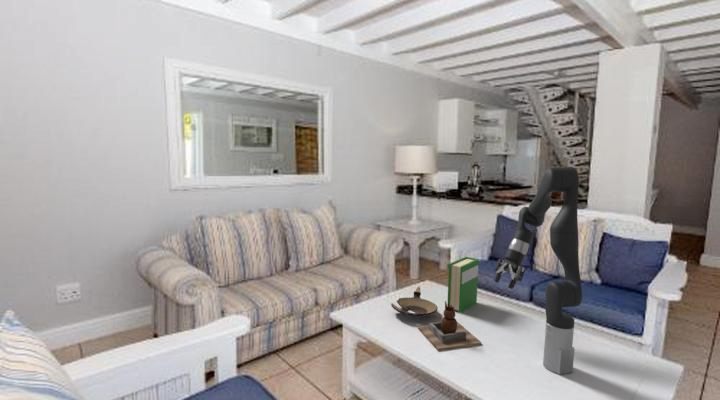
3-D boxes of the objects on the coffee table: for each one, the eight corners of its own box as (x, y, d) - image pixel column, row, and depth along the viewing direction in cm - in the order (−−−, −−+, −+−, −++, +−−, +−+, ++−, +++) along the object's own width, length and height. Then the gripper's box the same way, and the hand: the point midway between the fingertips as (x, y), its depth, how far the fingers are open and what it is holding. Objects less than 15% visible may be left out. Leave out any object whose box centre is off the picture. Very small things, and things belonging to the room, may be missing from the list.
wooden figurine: (439, 334, 167) (440, 301, 165) (442, 329, 172) (444, 297, 170) (454, 338, 164) (456, 305, 162) (458, 332, 169) (459, 300, 167)
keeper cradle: (481, 344, 161) (481, 335, 161) (437, 350, 156) (438, 341, 156) (457, 323, 180) (457, 315, 180) (417, 328, 175) (418, 320, 175)
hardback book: (460, 313, 192) (462, 266, 189) (447, 309, 197) (449, 263, 194) (476, 303, 205) (478, 259, 202) (463, 299, 210) (465, 256, 207)
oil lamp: (382, 316, 187) (382, 301, 186) (410, 297, 212) (411, 284, 211) (424, 329, 175) (424, 313, 174) (449, 307, 199) (450, 293, 198)
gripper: (499, 244, 175) (485, 277, 174) (523, 251, 162) (509, 287, 161) (511, 250, 178) (497, 282, 177) (535, 257, 164) (521, 293, 164)
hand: (503, 285), depth 169 cm, fingers open, 8 cm apart
